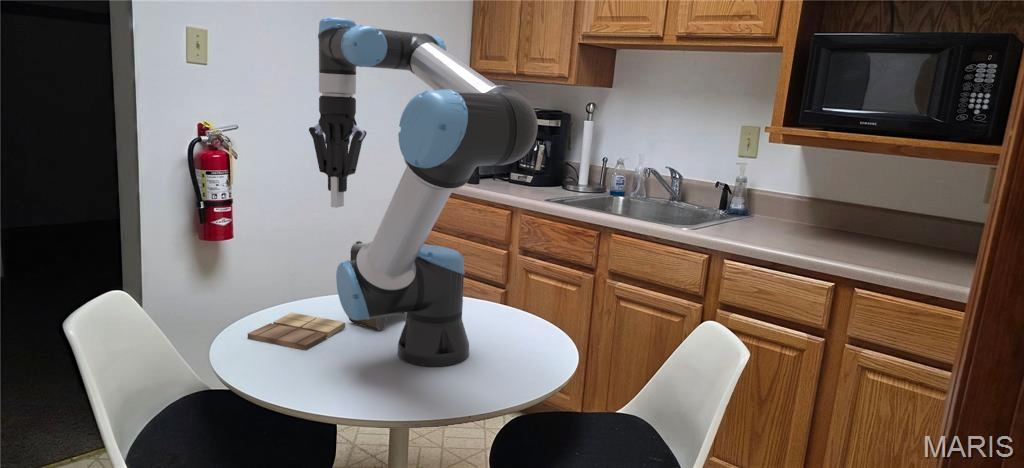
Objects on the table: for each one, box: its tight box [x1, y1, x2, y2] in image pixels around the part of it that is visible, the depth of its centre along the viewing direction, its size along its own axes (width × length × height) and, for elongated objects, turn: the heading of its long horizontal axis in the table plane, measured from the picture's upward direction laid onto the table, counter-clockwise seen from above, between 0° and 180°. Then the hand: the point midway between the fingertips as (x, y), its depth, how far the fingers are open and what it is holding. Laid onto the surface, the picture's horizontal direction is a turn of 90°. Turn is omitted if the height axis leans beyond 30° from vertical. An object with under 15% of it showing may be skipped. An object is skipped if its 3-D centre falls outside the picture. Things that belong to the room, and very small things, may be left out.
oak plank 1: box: [272, 312, 318, 329], centre depth 155 cm, size 7×6×1 cm
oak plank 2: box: [301, 316, 346, 338], centre depth 153 cm, size 7×6×1 cm
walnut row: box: [247, 322, 328, 351], centre depth 147 cm, size 15×8×1 cm, turn 71°
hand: (337, 206), depth 145 cm, fingers closed
